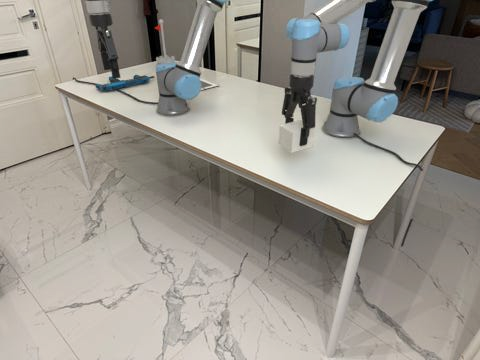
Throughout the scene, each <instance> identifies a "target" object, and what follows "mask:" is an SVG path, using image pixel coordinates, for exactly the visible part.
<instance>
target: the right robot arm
mask: <svg viewBox="0 0 480 360" xmlns="http://www.w3.org/2000/svg"><path fill="white" fill-rule="evenodd" d="M376 1H377V0H328V1H327V2H326V3H324V4H322V5H320V7H318V8H316V9H314V10H313V11H312V12H310V13H308V14H307V15H305V16H303V17H302V18H301V17H293V18H292V19H291V20H289V21H288V23H287V25H286V29H285V33H286V37H287V39H288V40H289V41H292V42H291V43H292V44H291V56H290V68H289V73H290V74H289V82H288V85H289V86H288V87H287V86H286V87H284V96H283V97H284V98H283V103H282V108H281V116H284V118H285V120H284V121H285V123H284V124H286V123H290V122H294V121H295V120H294V118H293V117H294V113H295V111H296V109H297V106H298V109H300V116H301V120H302V123H303V127H302V128H301V135H300V144H299V146H304V145H307V140H308V137H309V132H310V129H311V128H314V129H315V128H316V111H317V108H316V106H317V102H318V97H314V96H312V94H311V90H312V88H313V87H314V82H315V81H314V80H315V75H314V74H315V71H316V63H317V58H318V57H317V56H318V53H319V54H320V53H324V52H332V51H334V52H336V51H338V50H342V49H343V48H346V47H347V45H348V44H349V42H350V38H351V33H350V32H351V31H350V29H349V27H348V25H346V24H345V23H339V22H340V21H342V20H343V19H345V18H347V17H348V16H349V15H351V14H353V13H354V12H356V11H357V10H359V9H360V8H362V7H363V6H365V5H366V4H368V3H373V2H376ZM432 1H434V0H391V5H392V6H393V10H392V13H391V15H390V19H389V21H388V25H387V28H386V31H385V33H384V37H383V39H382V43H381V44H380V45H381V46H380V48H379V51H378V53H377V57H376V60H375V63H374V66H373V69H372V72H371V75H370V77H369V78H367V79H366V80H365V79H364V78H363V77H359V76H343V77H339V78H336V79H335V81H334V83H333V86H332V87H333V88H332V92H331V99H330V100H331V101H330V107H329V112H328V115H327V117H326V120H324V122H323V126H322V130H323V132H324V133H325V134H326V135H329V136H332V137H335V138H339V139H341V138H342V139H349V138H354V137H357V138H358V139H359V140H361V141H362V142H364V143H366V144H367V145H370V146H371V147H375V148H377V149H380V150H383V151H385V152H387V153H390V154H393V155H395V156H396V157H397V158H398V159H399V160H400V161H401V162H402V163H404V164H406V165H410V166H414V167H417V168H418V169H419V170H420V171H421V172H424V169H423V167H422V166H421V165H420V164H418V163H415V162H409V161H407V160H405V159H403V158H402V157H401V156H400V154H398V153H396V152H395V151H393V150H390V149H388V148H385V147H382V146H379V145H377V144H374V143H372V142H370V141H367V140H366V139H365V138H363V137H362V136H360V135H359V132H360V125H359V118H358V117H362V118H363V119H366V120H367V121H369V122H370V121H372V122H374V123H383V122H384V121H387V120H388V119H389V118H390V117H391V116H393V114H394V112H395V111H396V109H397V107H398V104H399V97H398V96H397V95H396V94H395V93H396V91H397V87H396V85H395V81H396V78H397V76H398V72H399V70H400V68H401V65H402V62H403V60H404V57H405V54H406V52H407V49H408V46H409V44H410V41H411V38H412V36H413V33H414V30H415V27H416V25H417V22H418V20H419V17H420V15H421V13H422V12H424V11H425V10H426V9H427V8H428V6H429V4H430V2H432ZM306 124H307V125H306ZM413 220H414V218H411V219H410V220H409V223H408V226H407V227H406V230H405V232H404V235H403V237H402V241H401V244H400V246H401V247H402V248H403V247H404V245H405V241H406V239H407V236H408V234H409V231H410V228H411V227H412V224H413Z"/></svg>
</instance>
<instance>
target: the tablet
mask: <svg viewBox="0 0 480 360" xmlns="http://www.w3.org/2000/svg"><path fill="white" fill-rule="evenodd" d="M199 79H200V81H201V84H202V87H201V91H206V90H209V89H212V88H216V87H219V84H216V83H214V82H212V81H209V80H206V79H204V78H201V77H200V78H199Z"/></svg>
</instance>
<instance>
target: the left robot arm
mask: <svg viewBox="0 0 480 360" xmlns="http://www.w3.org/2000/svg"><path fill="white" fill-rule="evenodd" d="M195 1H196V3H197V6H196V9H195V13H194V16H193V19H192V23H191V26H190V29H189V32H188V35H187V39H186V42H185V46H184V49H183V52H182V55H181V58H180V60H179V61H175V62H169V63H162V64H159V65H158V64H157V65H155V75H156V82H157V89H158V102H157V101H155V102H154V101H146V100H143V99H142V100H141V99H138V98H137V97H135V96H133V95H131V94H129V93H127V92H125V91H123V90H122V89H119V88H117V89H114V91H117V92H120V93H122V94H124V95H126V96H128V97H129V98H132V99H133V100H135V101H137V102H140V103H144V104H150V105H157V107H156V110H157V113H158V114H159V115H162V116H168V117H174V116H180V115H183V114H186V113H187V112H188V111H189V103H188V102H187V101H190V100H193V99H195V98H196V97H197V96H199V94H200V93H201V91H202V90H201V87H202V84H201V81H200V79H199V78H201V75H202V72H201V69H200V66H201V64H202V62H203V57H204V54H205V51H206V48H207V45H208V43H209V39H210V36H211V33H212V30H213V27H214V24H215V21H216V18H217V14H218V13H219V12H221V11H222V10H223V8H224V6H225V5H224V4H226V3H228V2H229V1H230V0H195ZM111 5H112V4H111V2H110V1H109V0H85V7H86V10H87V13H88V14H89V15H88V18H89V23H90V25H91V27H93V28H95V31H96V32H95V33H96V39H97V49H98V50H99V52H100V56H101V62H102V66H103V71H109V70H110V71H111V77H113V79H115V78H116V79H121V72H120V67H119V64H118V63H119V62H118V60H119V56H118V53H117V49H116V46H115V43H114V38H113V35H112V31H111V30H110V29H109V28H108V27H110V26H113V18H112V14H111V13H110V12H111V8H110V6H111ZM72 80H73V81H74V80H75V82H77V83H81V84H89V85H93V86H94V85H95V84H97V83H96V82H90V81H84V80H78V79H77V78H76V77H74V76H73V77H72Z"/></svg>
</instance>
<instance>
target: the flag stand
mask: <svg viewBox="0 0 480 360" xmlns="http://www.w3.org/2000/svg"><path fill="white" fill-rule="evenodd" d="M154 29H155V30H157V31H159V32H161V33H160V34H161V40H162V49H163V55H159V56H156V58H155V60H156V63H157V65H159V64H162V63H169V62H176V57H175V56H174V55H171V56H170V55H167V50H166V41H165V32H164V20H163V19H162V18H161V19H159V20H158V25H157V26H155V27H154Z"/></svg>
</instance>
